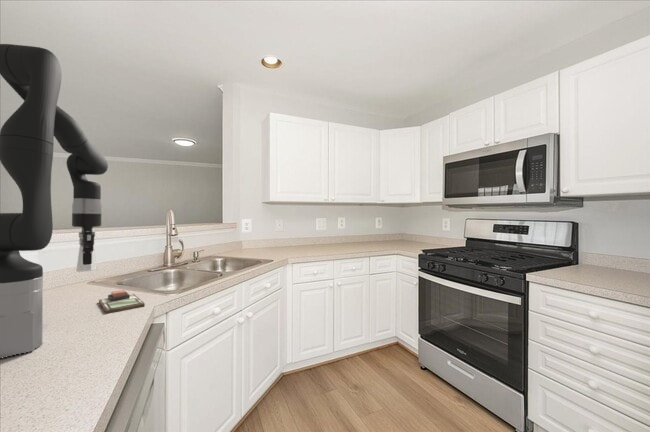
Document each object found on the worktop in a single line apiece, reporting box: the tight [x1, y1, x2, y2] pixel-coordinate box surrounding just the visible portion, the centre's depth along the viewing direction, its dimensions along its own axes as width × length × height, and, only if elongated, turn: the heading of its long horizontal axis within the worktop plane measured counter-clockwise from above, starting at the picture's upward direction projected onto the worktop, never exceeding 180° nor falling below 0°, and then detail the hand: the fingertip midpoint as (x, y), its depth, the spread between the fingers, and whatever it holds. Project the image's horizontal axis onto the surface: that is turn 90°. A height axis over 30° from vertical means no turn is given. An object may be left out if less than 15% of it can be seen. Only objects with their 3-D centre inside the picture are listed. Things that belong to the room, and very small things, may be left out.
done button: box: [111, 289, 127, 297], centre depth 106 cm, size 4×4×2 cm
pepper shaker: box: [76, 244, 97, 272], centre depth 94 cm, size 5×5×11 cm
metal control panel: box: [98, 291, 146, 315], centre depth 103 cm, size 17×11×2 cm, turn 45°
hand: (86, 263), depth 94 cm, fingers closed on pepper shaker, 3 cm apart
